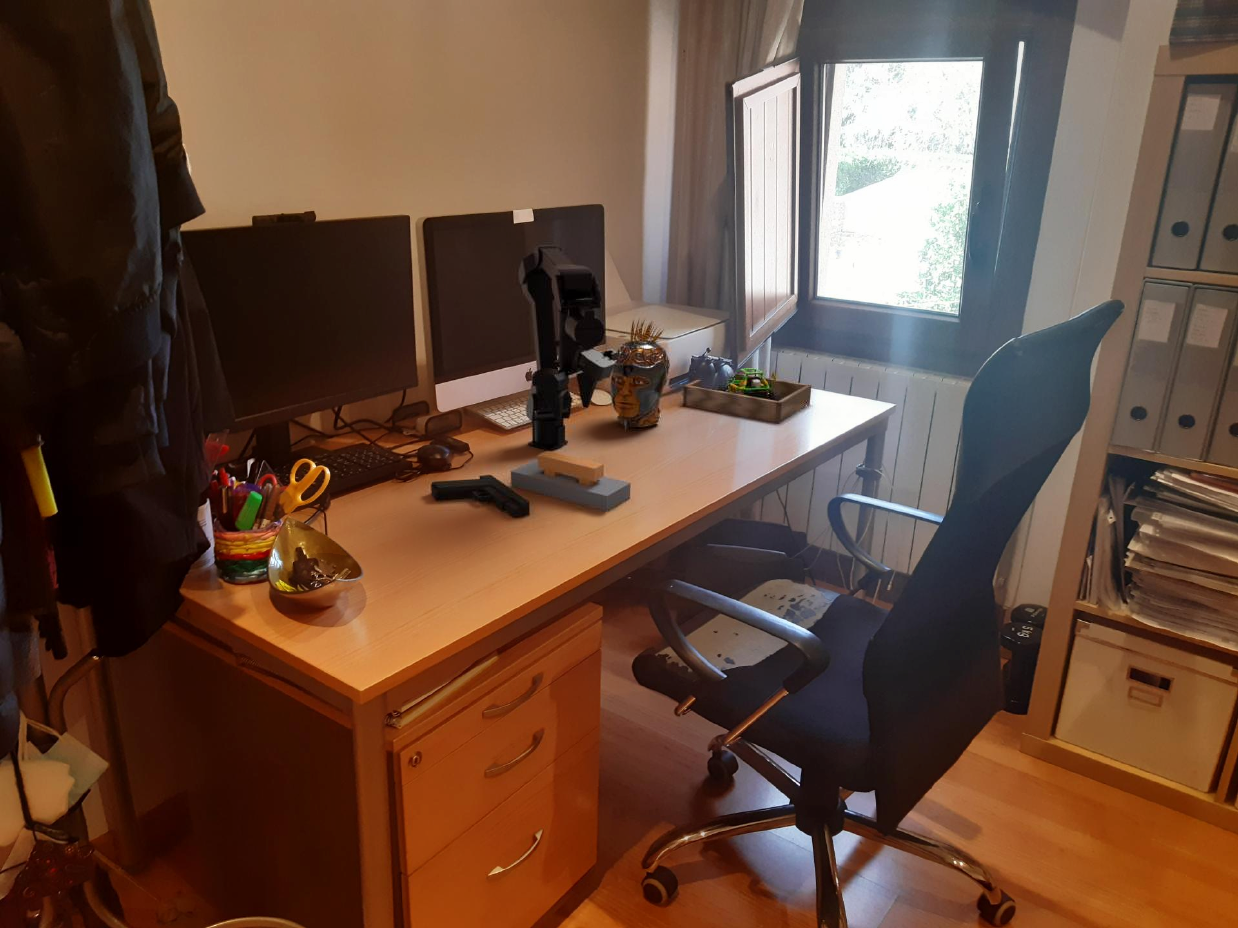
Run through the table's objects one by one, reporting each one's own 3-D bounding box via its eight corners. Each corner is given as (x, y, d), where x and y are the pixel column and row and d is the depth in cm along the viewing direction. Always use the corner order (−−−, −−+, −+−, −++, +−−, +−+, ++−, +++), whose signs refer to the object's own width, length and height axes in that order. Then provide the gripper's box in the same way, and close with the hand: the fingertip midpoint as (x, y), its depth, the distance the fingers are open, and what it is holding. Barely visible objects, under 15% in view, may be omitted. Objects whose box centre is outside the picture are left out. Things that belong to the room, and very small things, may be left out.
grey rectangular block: (511, 485, 176) (510, 471, 175) (536, 473, 182) (536, 459, 181) (606, 511, 165) (607, 496, 164) (630, 497, 171) (630, 482, 170)
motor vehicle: (755, 393, 241) (758, 354, 238) (784, 414, 224) (787, 372, 220) (714, 395, 239) (716, 356, 235) (739, 417, 221) (742, 374, 217)
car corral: (683, 404, 231) (683, 385, 229) (718, 388, 247) (719, 370, 245) (778, 423, 218) (780, 402, 216) (809, 404, 234) (811, 385, 232)
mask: (596, 432, 208) (598, 323, 200) (631, 408, 227) (633, 308, 218) (647, 439, 204) (650, 328, 195) (678, 415, 222) (682, 313, 214)
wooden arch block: (538, 486, 175) (537, 455, 173) (547, 482, 178) (547, 450, 176) (594, 501, 169) (594, 468, 167) (603, 496, 171) (603, 464, 169)
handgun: (469, 516, 155) (531, 502, 161) (425, 481, 170) (484, 470, 176) (469, 532, 156) (531, 517, 162) (426, 495, 171) (484, 484, 177)
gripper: (579, 351, 162) (577, 434, 167) (635, 332, 176) (632, 409, 182) (529, 341, 167) (530, 422, 173) (588, 324, 182) (586, 399, 188)
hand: (572, 413), depth 179 cm, fingers open, 9 cm apart
